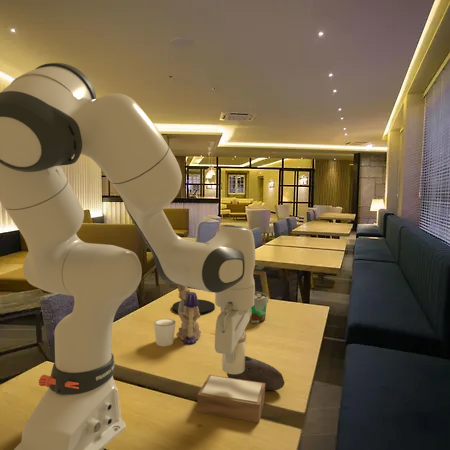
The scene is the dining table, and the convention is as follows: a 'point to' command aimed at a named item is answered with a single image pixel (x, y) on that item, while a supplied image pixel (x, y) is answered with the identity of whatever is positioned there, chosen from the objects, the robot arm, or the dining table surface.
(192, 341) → the toy lamp
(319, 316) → the dining table surface
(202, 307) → the wireless charger
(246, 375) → the brown oblong lump
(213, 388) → the walnut plinth
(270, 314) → the dining table surface
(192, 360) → the dining table surface
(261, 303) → the food container
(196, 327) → the figurine
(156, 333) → the shot glass
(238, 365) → the cream canister
